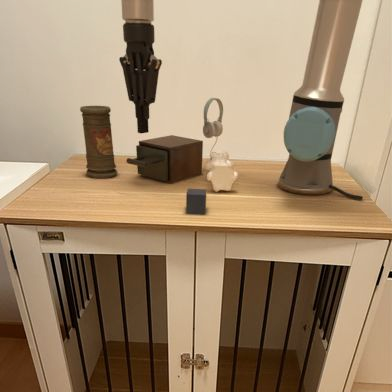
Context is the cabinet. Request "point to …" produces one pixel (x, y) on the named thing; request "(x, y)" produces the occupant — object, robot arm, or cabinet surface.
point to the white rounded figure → (221, 171)
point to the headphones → (216, 126)
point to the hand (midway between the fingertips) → (143, 132)
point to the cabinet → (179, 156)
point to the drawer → (151, 162)
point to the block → (196, 201)
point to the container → (98, 141)
